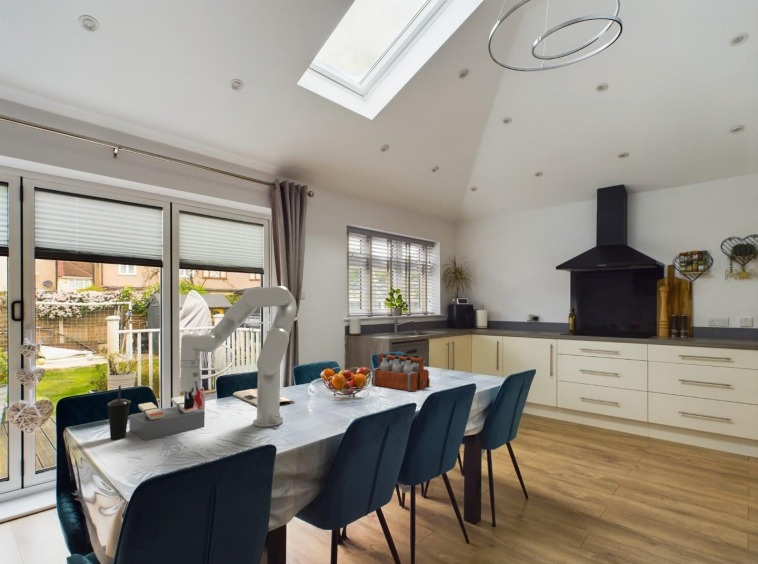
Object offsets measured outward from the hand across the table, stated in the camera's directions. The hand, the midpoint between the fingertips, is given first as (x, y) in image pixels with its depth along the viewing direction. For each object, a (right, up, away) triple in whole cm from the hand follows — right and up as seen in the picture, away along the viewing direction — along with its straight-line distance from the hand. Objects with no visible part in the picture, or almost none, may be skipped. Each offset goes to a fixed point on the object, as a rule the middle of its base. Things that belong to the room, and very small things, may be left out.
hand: (188, 407), depth 169 cm
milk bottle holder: (+93, -13, +85) cm, 127 cm away
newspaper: (+18, -11, +49) cm, 53 cm away
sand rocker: (-12, +1, -6) cm, 14 cm away
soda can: (-6, -10, +22) cm, 24 cm away
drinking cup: (-21, -8, -13) cm, 26 cm away
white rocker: (-4, 0, +4) cm, 5 cm away
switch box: (-10, -8, 0) cm, 13 cm away
